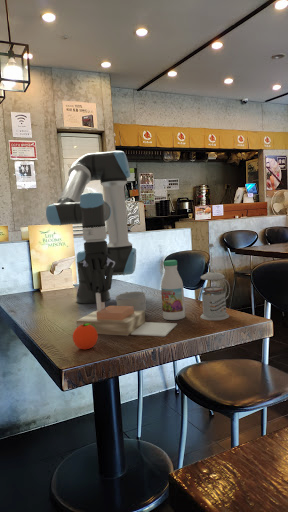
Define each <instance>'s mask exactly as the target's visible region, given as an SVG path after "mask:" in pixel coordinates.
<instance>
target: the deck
mask: <svg viewBox="0 0 288 512" xmlns="http://www.w3.org/2000/svg"><path fill="white" fill-rule="evenodd" d="M145 311H146V310H145ZM145 311H134V313H133V314H131V315H130V316H128V317H126V318H125V319H123V320H105V319H97V313H96V312H97V309H96V310H95V311H92V312H91V313H88V314H86V315H85V316H82V317H81V318H79V319H77V320H76V322H75V323H76V328H77V327H78V326H80V325H83V324H87V323H90V324H89V325H91V326H93V327H94V328H95V329H96V331H97V334H98V335H110V336H113V335H114V336H130V335H131V333H132V332H133V331H135V330H136V329H137V328H139V327H140V326H141V325H143V324H144V323H145V322H146V315H145ZM93 324H94V325H95V326H96V327H95V326H94V325H93Z"/></svg>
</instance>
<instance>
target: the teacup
mask: <svg viewBox="0 0 288 512" xmlns="http://www.w3.org/2000/svg"><path fill="white" fill-rule="evenodd" d="M115 300H116V306H134V311H146V310H147V301H146V292H144V291H125V292H124V293H120V294H118V295H116V296H115Z"/></svg>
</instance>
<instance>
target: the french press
mask: <svg viewBox="0 0 288 512" xmlns="http://www.w3.org/2000/svg"><path fill="white" fill-rule="evenodd" d="M207 248H214V244H213V243H208V244H207ZM212 254H213V253H210V261H211V262H210V263H211V265H213V259H212V257H213V256H212ZM225 277H226V276H225V275H224V274H223V273H220V272H216V271H213V270H211V271H210V272H205V274H202V275H201V276H200V279H201V280H204V281H212V282H214V281H217V280H219V281H218V282H219V283H220V284H224V285H225V287H224V286H217V285H216V286H214V285H212V286H206V287H205V286H204V287H203V288H202V290H203V292H201V300H202V314H201V315H200V316H199V317H200V318H201V319H202V320H205V321H222V320H226V319H229V317H230V315H229V314H228V313H227V304H226V300H227V299H228V298H229V296H230V293H231V287H230V283H229V282H228V280H227V279H225ZM221 280H222V281H221ZM226 283H227V284H226ZM227 285H228V290H227ZM224 289H225V291H224ZM227 291H228V295H227V294H226V293H227ZM226 295H227V296H226Z"/></svg>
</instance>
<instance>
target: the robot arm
mask: <svg viewBox="0 0 288 512" xmlns="http://www.w3.org/2000/svg"><path fill="white" fill-rule="evenodd" d="M67 176H68V177H67V180H66V183H65V185H64V187H63V189H62V191H61V194H60V195H59V198H58V200H57V202H56V203H52V204H48V205H47V206H46V208H45V216H46V221H47V222H48V224H49V225H51V226H68V225H78V224H80V225H81V224H82V225H81V227H82V237H83V239H82V240H83V241H84V242H83V250H81V251H80V250H79V251H78V252H77V253H76V267H77V277H78V288H77V291H76V296H75V299H76V303H79V304H96V310H97V312H98V311H100V310H102V309H104V308H106V305H105V303H106V302H107V301H108V300H110V299H111V292H110V290H112V289H111V288H112V282H113V276H115V277H116V276H126V275H127V276H128V275H132V274H134V273H135V271H136V264H137V249H136V248H135V247H133V243H132V242H131V241H129V233H128V231H129V230H128V219H127V218H128V217H127V208H126V207H127V206H126V196H125V186H126V184H127V183H128V178H131V171H130V165H129V161H128V158H127V155H126V152H124V151H123V150H111V151H101V152H91V153H86V154H84V155H82V156H80V157H79V158H78V159H77V160H76V161H74V162H73V163H72V165H71V166H70V167H69V170H68V175H67ZM92 181H99V182H100V185H101V186H102V187H103V188H104V195H103V193H102V192H97V191H96V192H95V191H94V192H85V188H86V186H87V185H88V184H89V183H90V182H92ZM84 192H85V193H84ZM104 198H105V200H104ZM106 222H107V223H106ZM106 224H107V228H106ZM107 233H108V242H107Z"/></svg>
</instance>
